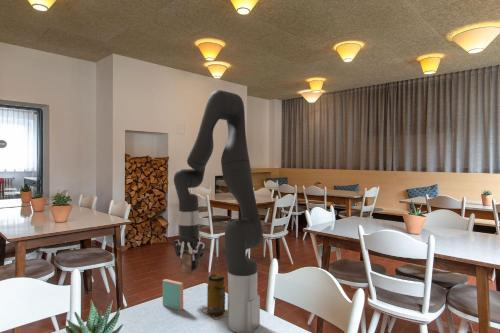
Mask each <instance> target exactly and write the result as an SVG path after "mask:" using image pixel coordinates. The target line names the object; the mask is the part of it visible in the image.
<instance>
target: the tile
mask: <svg viewBox="0 0 500 333" xmlns="http://www.w3.org/2000/svg"><path fill="white" fill-rule="evenodd" d="M162 306H163V307H168V308H170V309H175V310H177V311H181V310H183V309H184V282H180V281H177V280H172V279H167V278H165V279H162Z"/></svg>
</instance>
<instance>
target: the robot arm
mask: <svg viewBox="0 0 500 333" xmlns="http://www.w3.org/2000/svg"><path fill="white" fill-rule="evenodd" d="M203 112H204V113H203V115H202V119H201V123H200V126H199V130H198V133H197V136H196V139H195V142H194V143H193V145H192V148H191V150H190V152H189V154H188V156H187V159H186V163H187V165H188V166H189V167H190V168H188V169H187V168H183V169H178V170H177V171H176V172H175V173H174V176H173V184H174V187H175V191H176V194H177V198H178V217H177V218H178V236H179V238H178V239H175V240H173V241H172V244H173V248H174V252H175V255H176V257H178V258H180V262H181V263H180V266H181V267H182V253H185V252H188V251H189V252H190V254H192V270H196V269H197V270H198V267H199V260H200V259H202V258H203V256H204V252H205V249H206V246H207V244H206V242H202V241H200V238H199V235H200V215H199V214H200V213H199V197H198V196H197V195H196V194H194V193H191V192H190V191H189V189H193V188H194V189H195V188H198V187H199V186H200V185H202V183H203V180H204V176H205V170H206V166H207V164H208V162H209V160H210V158H211V157H212V154H213V151H214V147H215V146H214V129H215V127H216V124H218V121H219V120H222V121H226V123H227V124H226V125H227V133H228V134H227V135H228V137H227V142H226V143H225V146H224V148H223V152H222V154H221V158H220V159H221V160H220V164H221V173H222V179H223V181H224V183H225V184H224V185H226V187H227V189H228V191H229V192H230V193H231V194H232V196H233V197H234V198H235V201H236V202H237V204H238V206H239V210H240V215H241V219H237V220H236V219H235V220H231V221H229V222H228V223H227V224H226V227H225V228H224V247H225V248H224V249H225V261H226V266H227V310H228V315H227V328H228V329H229V331H231V332H234V333H254V331H255V330H257V328H258V327H259V326H260V324H261V322H260V321H261V320H260V319H261V317H260V315H261V305H260V304H261V297H260V294H258V262H257V261H256V260H255V259H252V258H250V257H247V254H246V250H249V249H254V248H257V247H259V246H260V245H261V244H262V242H263V238H264V233H263V230H264V229H263V226H262V225H263V224H262V221H261V217H260V212H259V209H258V204H257V202H256V195H255V190H254V184H253V183H254V182H253V178H252V177H253V176H252V169H251V162H250V156H249V149H248V143H247V134H246V133H247V132H246V118H245V117H246V116H245V105H244V101H243V99H242V97H241V96H240V94H237V93H235V92H234V93H233V92H231V91H230V92H229V91H226V90H220V89H218V90H214V91H213V92H211V95H210V96H209V98H208V99H207V102H206V106H205V108H204V111H203Z"/></svg>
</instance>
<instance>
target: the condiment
mask: <svg viewBox="0 0 500 333" xmlns="http://www.w3.org/2000/svg"><path fill="white" fill-rule="evenodd" d="M207 282H208V284H207V287H206V288H207V292H206V294H207V297H206V299H207V300H206V301H207V304H206V305H207V308H204V309H202V310H201V311H202V312H204V313H205V314H206V315H208V316H209V317H211V318H212V319H213V320H219V319H221V318H224V317H228V308H226V284H225V277H224V275H222V274H218V273H217V274H214V273H213V274H211V275H209V277H208V281H207Z"/></svg>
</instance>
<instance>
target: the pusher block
mask: <svg viewBox="0 0 500 333" xmlns="http://www.w3.org/2000/svg"><path fill="white" fill-rule="evenodd" d="M196 272H198V268H197V269H196V270H192V254H190V252H189V251H188V252H185V253H182V266H181V273H182V274H187V275H192V274H194V273H196Z"/></svg>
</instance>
